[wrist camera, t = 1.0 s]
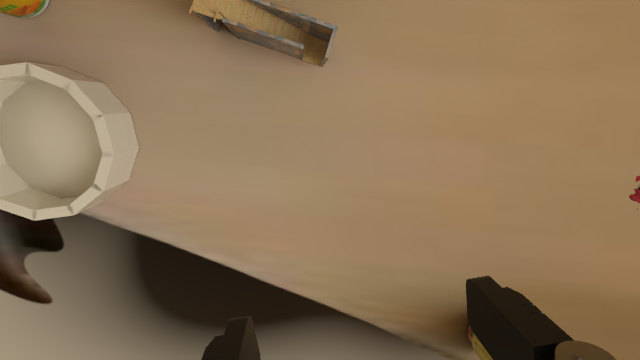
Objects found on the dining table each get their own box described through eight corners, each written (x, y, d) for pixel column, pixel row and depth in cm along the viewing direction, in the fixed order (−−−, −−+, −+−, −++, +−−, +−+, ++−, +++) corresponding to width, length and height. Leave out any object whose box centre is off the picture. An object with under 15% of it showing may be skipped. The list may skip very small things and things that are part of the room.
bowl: (-25, 79, 34) (-79, 75, 29) (117, 61, 34) (87, 54, 30) (21, 211, 37) (-21, 228, 32) (150, 194, 38) (128, 207, 33)
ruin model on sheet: (215, 35, 35) (184, 11, 25) (223, 5, 34) (193, -32, 25) (321, 71, 36) (328, 60, 27) (329, 42, 36) (340, 20, 26)
